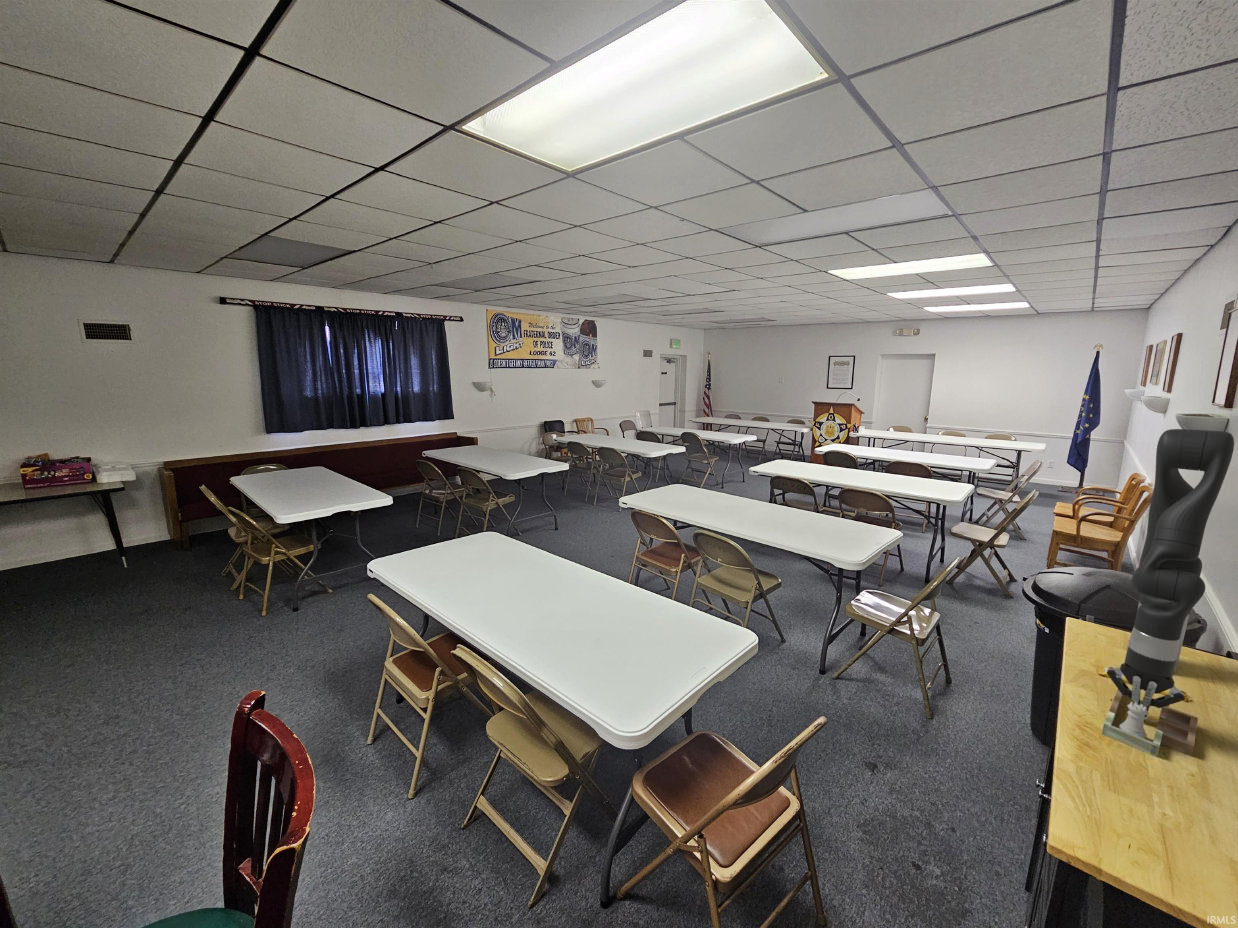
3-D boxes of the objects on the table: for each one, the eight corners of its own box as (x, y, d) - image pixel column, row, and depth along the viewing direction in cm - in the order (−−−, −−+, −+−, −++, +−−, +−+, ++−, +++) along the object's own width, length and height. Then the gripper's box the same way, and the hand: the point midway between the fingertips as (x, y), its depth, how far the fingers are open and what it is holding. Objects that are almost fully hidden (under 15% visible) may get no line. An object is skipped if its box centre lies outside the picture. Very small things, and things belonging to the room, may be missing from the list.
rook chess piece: (1129, 728, 110) (1136, 698, 108) (1152, 743, 106) (1159, 711, 104) (1111, 729, 110) (1118, 699, 108) (1133, 744, 105) (1141, 712, 104)
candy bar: (1188, 697, 121) (1189, 690, 120) (1190, 705, 118) (1191, 698, 118) (1095, 668, 133) (1096, 662, 132) (1095, 675, 130) (1096, 669, 129)
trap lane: (1118, 692, 122) (1119, 684, 122) (1196, 720, 112) (1198, 711, 112) (1101, 733, 108) (1103, 724, 108) (1189, 770, 98) (1192, 760, 98)
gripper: (1198, 657, 106) (1181, 724, 110) (1114, 632, 117) (1101, 694, 120) (1195, 670, 102) (1178, 739, 105) (1108, 643, 112) (1095, 707, 115)
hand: (1137, 715), depth 113 cm, fingers closed
